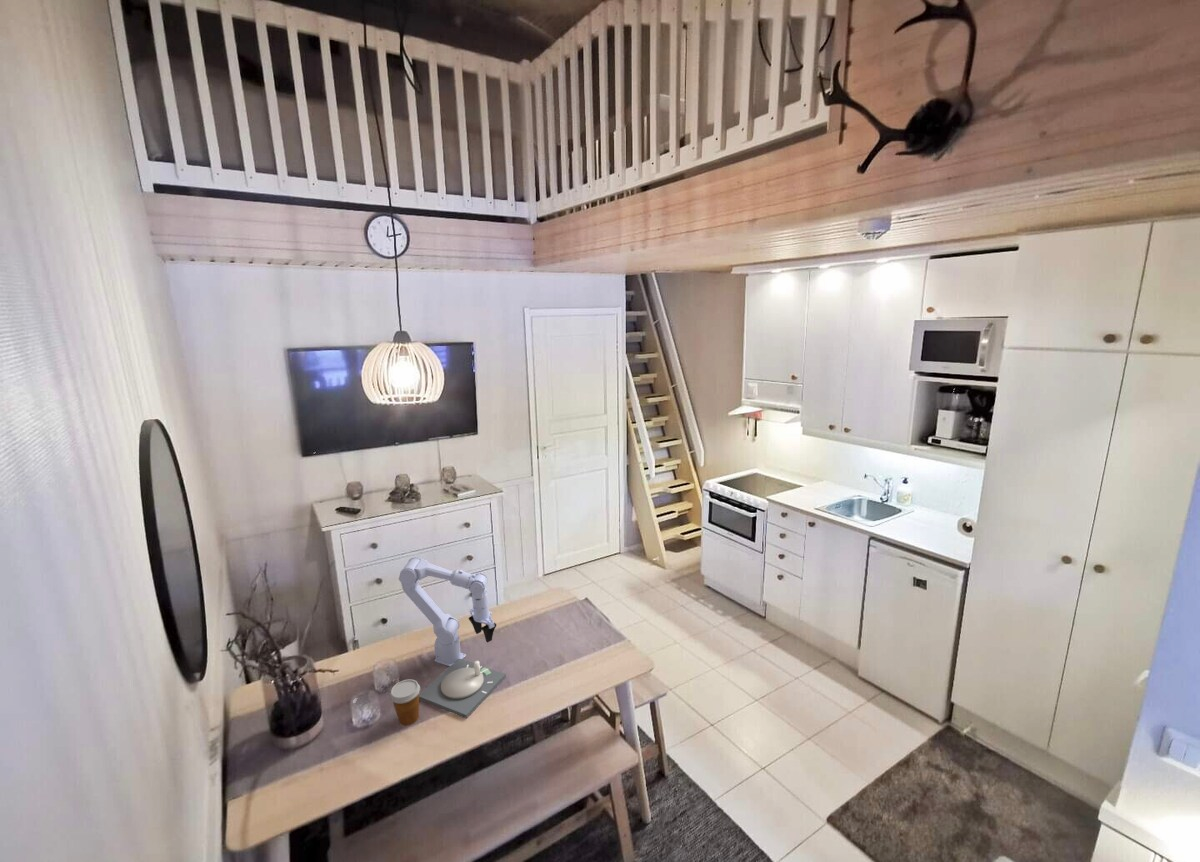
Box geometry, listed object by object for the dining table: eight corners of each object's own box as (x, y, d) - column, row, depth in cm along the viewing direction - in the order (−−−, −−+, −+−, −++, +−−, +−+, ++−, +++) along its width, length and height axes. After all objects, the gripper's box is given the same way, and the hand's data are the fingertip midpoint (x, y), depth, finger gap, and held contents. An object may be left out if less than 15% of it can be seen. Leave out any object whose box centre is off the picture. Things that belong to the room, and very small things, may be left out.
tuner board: (417, 699, 188) (417, 695, 188) (459, 661, 207) (459, 657, 207) (466, 718, 178) (466, 714, 178) (506, 677, 197) (505, 673, 197)
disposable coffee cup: (396, 734, 173) (391, 702, 170) (392, 714, 181) (387, 684, 179) (426, 722, 177) (422, 691, 175) (421, 704, 186) (417, 674, 183)
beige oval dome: (450, 705, 182) (448, 690, 181) (435, 681, 194) (433, 667, 193) (497, 682, 192) (496, 668, 191) (480, 661, 204) (478, 647, 203)
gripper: (500, 608, 201) (503, 640, 204) (479, 594, 211) (482, 624, 214) (483, 616, 196) (487, 648, 199) (463, 601, 206) (467, 632, 210)
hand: (483, 636), depth 207 cm, fingers open, 7 cm apart
